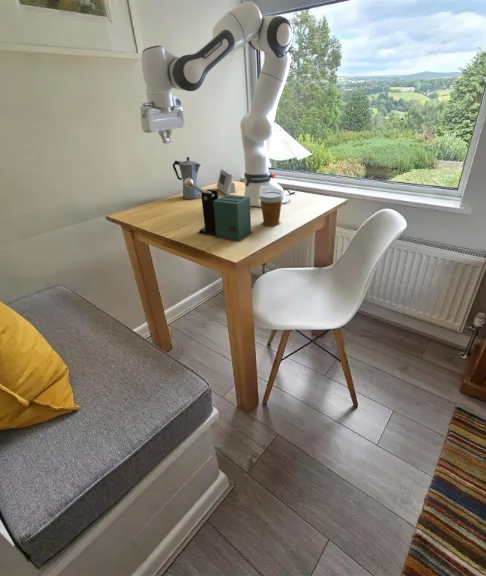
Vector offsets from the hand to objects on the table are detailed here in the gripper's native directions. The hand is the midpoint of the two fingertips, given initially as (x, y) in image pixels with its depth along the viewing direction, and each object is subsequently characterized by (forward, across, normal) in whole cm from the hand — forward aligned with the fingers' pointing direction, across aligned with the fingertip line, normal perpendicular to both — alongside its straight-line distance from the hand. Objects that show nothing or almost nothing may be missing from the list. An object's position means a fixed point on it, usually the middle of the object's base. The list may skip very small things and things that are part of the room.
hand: (167, 143), depth 124 cm
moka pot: (+31, +31, +17) cm, 47 cm away
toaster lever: (+17, -4, -15) cm, 23 cm away
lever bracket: (+31, -4, -20) cm, 37 cm away
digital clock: (+31, +48, +6) cm, 58 cm away
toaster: (+31, -4, -30) cm, 43 cm away
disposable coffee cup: (+31, +13, -38) cm, 51 cm away
